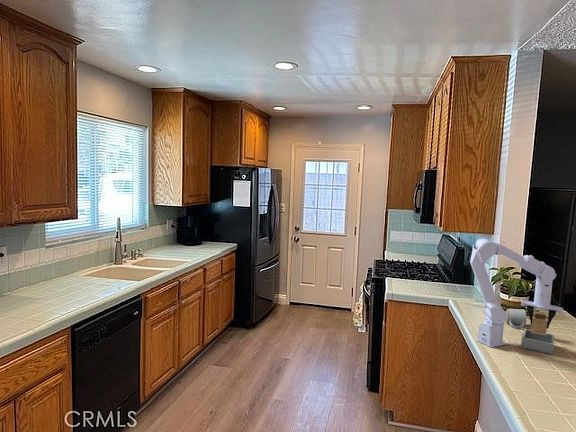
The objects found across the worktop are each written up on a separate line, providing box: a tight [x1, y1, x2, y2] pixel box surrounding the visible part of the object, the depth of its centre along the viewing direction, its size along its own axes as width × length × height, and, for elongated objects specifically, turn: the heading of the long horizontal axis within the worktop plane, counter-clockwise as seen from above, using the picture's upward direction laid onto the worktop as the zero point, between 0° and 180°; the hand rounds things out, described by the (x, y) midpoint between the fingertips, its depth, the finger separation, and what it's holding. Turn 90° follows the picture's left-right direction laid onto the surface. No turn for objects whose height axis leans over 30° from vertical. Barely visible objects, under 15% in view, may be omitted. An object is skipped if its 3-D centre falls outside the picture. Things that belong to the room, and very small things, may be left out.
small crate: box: [530, 313, 548, 335], centre depth 170 cm, size 9×5×6 cm, turn 145°
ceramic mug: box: [505, 308, 527, 330], centre depth 197 cm, size 11×8×8 cm
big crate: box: [520, 328, 555, 356], centre depth 172 cm, size 13×11×4 cm
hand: (539, 326), depth 171 cm, fingers closed on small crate, 5 cm apart
